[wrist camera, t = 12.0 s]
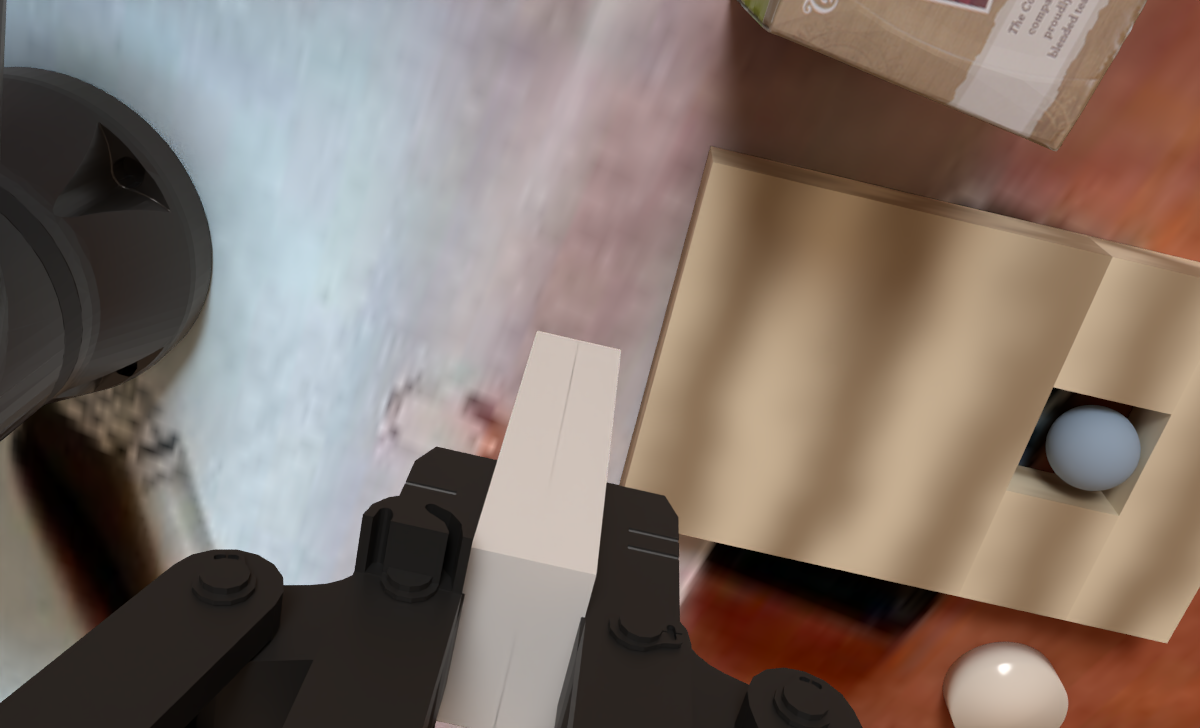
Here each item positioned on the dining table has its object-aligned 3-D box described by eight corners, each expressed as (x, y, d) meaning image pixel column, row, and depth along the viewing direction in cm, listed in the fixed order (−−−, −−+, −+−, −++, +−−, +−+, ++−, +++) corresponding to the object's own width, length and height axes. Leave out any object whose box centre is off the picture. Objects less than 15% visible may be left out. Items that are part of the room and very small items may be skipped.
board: (618, 487, 53) (615, 519, 51) (710, 145, 46) (713, 162, 43) (1141, 605, 54) (1167, 643, 51) (1316, 290, 47) (1356, 314, 44)
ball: (1015, 467, 49) (1090, 514, 47) (1048, 394, 48) (1127, 438, 45) (1061, 455, 52) (1135, 500, 49) (1094, 385, 50) (1172, 427, 47)
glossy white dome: (945, 732, 59) (954, 758, 57) (939, 646, 56) (949, 671, 54) (1055, 720, 58) (1068, 746, 56) (1054, 633, 56) (1067, 657, 54)
